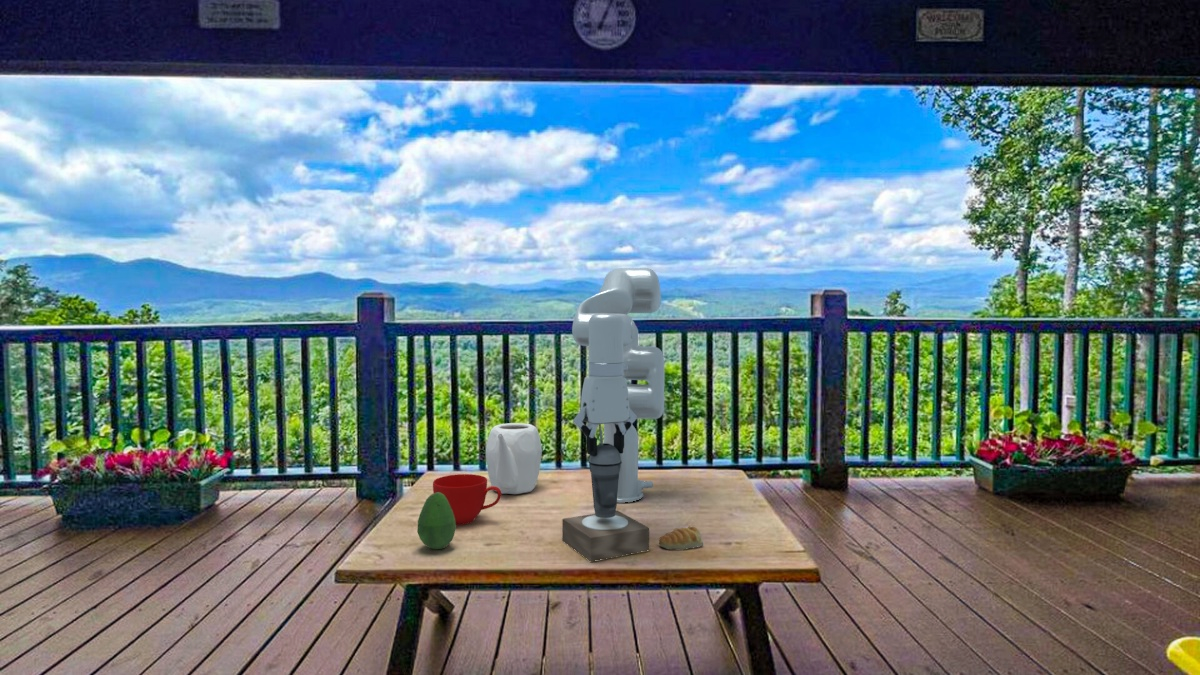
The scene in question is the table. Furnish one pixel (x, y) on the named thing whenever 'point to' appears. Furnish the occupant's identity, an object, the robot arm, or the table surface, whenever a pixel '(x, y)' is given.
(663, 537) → the pastry
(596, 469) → the beverage cup
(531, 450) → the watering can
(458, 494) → the ceramic cup
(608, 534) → the walnut stand
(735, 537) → the table surface
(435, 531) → the fruit
